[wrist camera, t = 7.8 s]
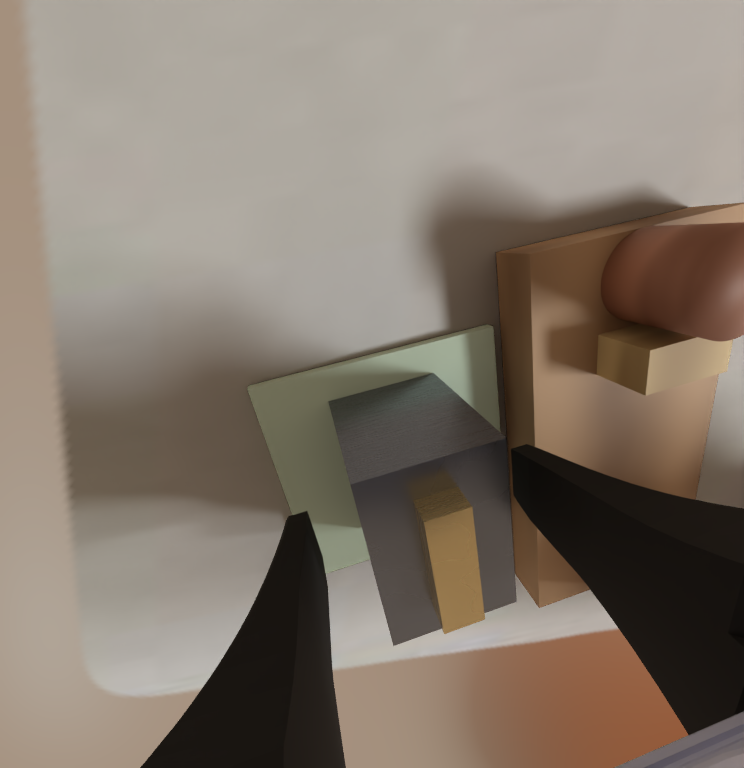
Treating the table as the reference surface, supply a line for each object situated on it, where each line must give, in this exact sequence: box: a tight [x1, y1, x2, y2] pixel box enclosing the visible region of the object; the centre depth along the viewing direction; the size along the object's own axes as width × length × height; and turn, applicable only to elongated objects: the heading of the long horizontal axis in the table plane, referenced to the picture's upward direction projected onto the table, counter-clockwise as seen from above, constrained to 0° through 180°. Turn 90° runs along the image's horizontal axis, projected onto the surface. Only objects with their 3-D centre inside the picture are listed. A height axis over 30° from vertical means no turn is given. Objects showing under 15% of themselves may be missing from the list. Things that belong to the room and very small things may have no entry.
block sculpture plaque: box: [496, 203, 744, 608], centre depth 14 cm, size 8×16×5 cm, turn 11°
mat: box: [247, 324, 501, 574], centre depth 15 cm, size 9×9×1 cm
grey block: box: [328, 373, 516, 645], centre depth 12 cm, size 4×6×6 cm, turn 11°
